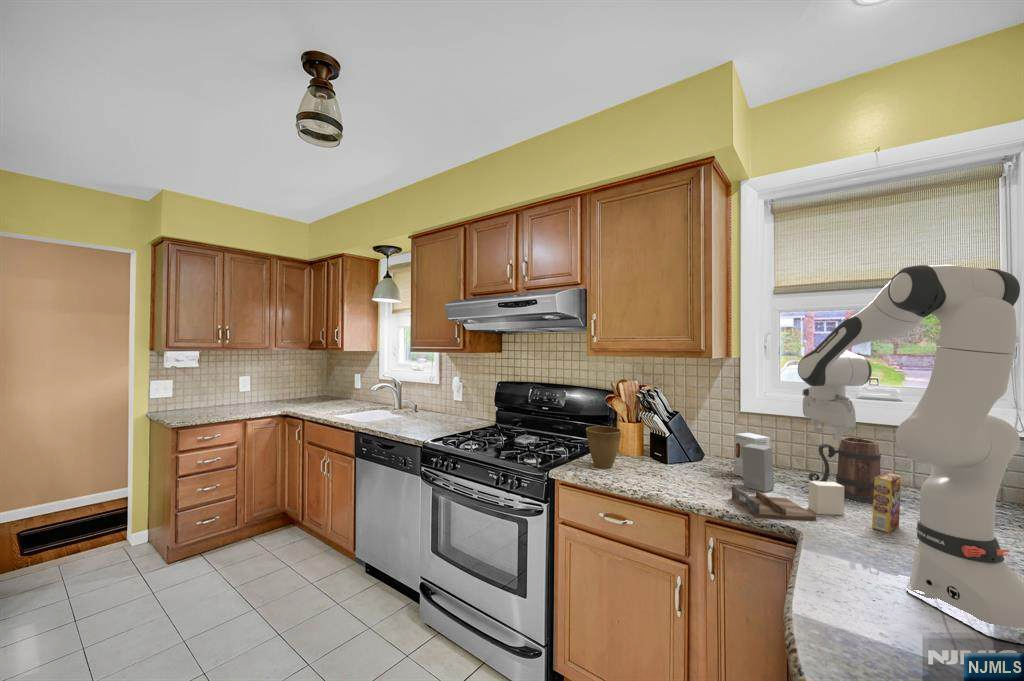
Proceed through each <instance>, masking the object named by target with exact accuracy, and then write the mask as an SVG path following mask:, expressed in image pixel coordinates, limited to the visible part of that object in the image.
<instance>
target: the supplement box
mask: <svg viewBox="0 0 1024 681" xmlns="http://www.w3.org/2000/svg"><path fill="white" fill-rule="evenodd" d="M748 444H755V445H761V446H767V447H771V446H770V445H771V437H769V436H765V435H761V434H756V433H752V432H742V433H741V432H740V433H735V434H734V456H733V459H734V460H733V475H735V474H736V476H738V475H739V477H741V476H742V477H741V478H743V456H742V446H744V445H748Z"/></svg>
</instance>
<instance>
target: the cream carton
mask: <svg viewBox="0 0 1024 681" xmlns="http://www.w3.org/2000/svg"><path fill="white" fill-rule="evenodd" d="M836 482H837V481H836ZM836 482H835V481H826V482H821V480H813V481H810V480H809V481H808V510H810V509H811V511H812V510H813V511H812V512H814V513H815V512H816V514H817V515H835V516H836V515H838V516H839V515H840V516H845V499H844V486H842V485H840V484H838V483H836Z"/></svg>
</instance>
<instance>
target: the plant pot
mask: <svg viewBox="0 0 1024 681" xmlns="http://www.w3.org/2000/svg"><path fill="white" fill-rule="evenodd" d="M585 432H586V439H587V443H588V448H589V453H590V457H591V459H592V462H593V465H594V467H596V468H598V469H602V470H603V469H604V470H605V469H606V470H607V469H608V470H609V469H611V468H613V465H614V463H615V460H616V457H617V455H618V451H619V446H620V443H621V435H622V429H620V428H618V427H614V426H605V425H603V426H602V425H601V426H600V425H599V426H598V425H597V426H595V425H594V426H588V427H586V428H585Z"/></svg>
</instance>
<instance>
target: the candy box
mask: <svg viewBox="0 0 1024 681" xmlns="http://www.w3.org/2000/svg"><path fill="white" fill-rule="evenodd" d="M901 486H902V476H901V475H898V474H893V473H888V472H884V473H882V474H881V475H878V476H875V480H874V499H873V504H872V517H871V518H872V519H871V520H872V522H871V528H872V529H874V530H879V531H880V532H885V533H888V534H889V533H890V532H892V531H893V530H895V529H897V528H899V527H900V515H901V514H900V511H901V491H902V490H901Z"/></svg>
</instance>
